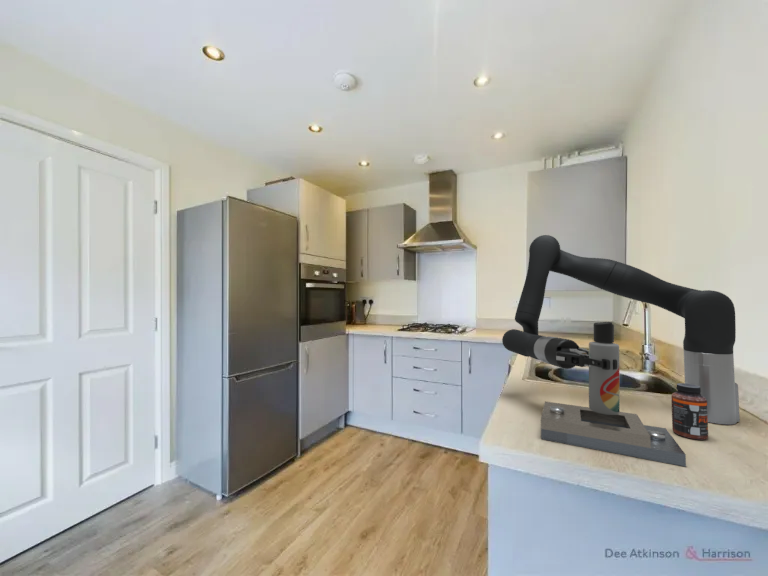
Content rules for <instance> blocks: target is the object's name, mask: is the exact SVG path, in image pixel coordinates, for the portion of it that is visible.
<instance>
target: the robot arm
mask: <svg viewBox="0 0 768 576" xmlns="http://www.w3.org/2000/svg"><path fill="white" fill-rule="evenodd" d="M528 253H529V254H528V256H529V257H528V264H527V271H526V276H525V279H524V280H525V281H524V285H523V287H522V291H521V294H520V298H519V301H518V304H517V306H516V307H517V308H516V312H515V316H514V321H515V322H516V323H517V324H518V325H520V326H521V327H522V330H519V329H516V328H515V329H513V328H512V329H509V330H507V331H506V332H504V333H503V336H502V339H501V341H502V345H503V347H504V348H505V349H506V350H508V351H510V352H512V353H515V354H518V355H520V356H524V357H527V358H532V359H534V360H538V361H542V362H543V363H545V364H547V365H551V366H555V367H559V368H562V369H565V370H569V369H572V368H573V369H574V368H575V367H580V368H584V367H588V368H589V367H590V365H593V366H597V367H600V368H602V369H604V370H610V360H608V359H602V361H601V360H594V359H590V356H589V349H587V348H583V347H580V346H579V344H577V342H576V341H574V340H572V339H567V338H563V337H562V338H561V337H558V336H557V337H556V336H549V335H548V336H546V335H541V334H539V321H540V316H541V313H542V308H543V304H544V299H545V293H546V287H547V283H548V282H547V281H548V278H549V274H550V272H552V273H557V274H559V275H564V276H567V277H570V278H572V279H575V280H577V281H579V282H583V283H585V284H587V285H589V286H593V287H595V288H598V289H600V290H603V291H605V292H608V293H610V294H614V295H616V296H620V297H623V298H625V299H626V298H627V299H630V300H633V301H638V302H641V303H647V304H651V305H654V306H656V307H658V308H661V309H662V310H663V309H664V310H666V311H668V312H670V313H673V314H675V315H676V316H679V317H681V318H683V319H684V337H683V341H682V347H683V365H684V366H683V368H684V371H683V372H684V383H685V384H693V385H697V386H700V389H701V393H700V394H701V395H702V396H703V397H705V398H706V400H707V413H708V423H711V424H712V423H713V424H719V425H736V424H737V422H741V421H740V420H741V419H740V401H739V399H740V398H739V397H740V396H739V384H738V383H737V382H735V379H736V378H735V377H736V376H735V363H734V362H735V361H734V360H735V359H734V346H735V343H736V333H737V332H736V331H737V330H736V309H735V305H734V303H733V300H732V299H731V298H730V297H729V296H727V294H725V293H723V292H720V291H716V290H710V289H709V290H706V289H705V290H699V289H696V288H690V287H687V286H682V285H679V284H675V283H671V282H670V281H666V280H663V279H661V278H659V277H657V276H655V275H653V274H651V273H649V272H647V271H645V270H642V269H640V268H638V267H635V266H633V265H630V264H627V263H624V262H620V261H617V260H614V259H609V258H603V257H601V258H599V257H586V256H579V255H575V254H573V253H570V252H567V251H564V250H563V249H561V244H560V242H559V241H558V240H557V238H556V237H554V236H552V235H549V234H545V235H544V234H543V235H542V234H541V235H539V236H537V237H536V238H534V239H533V241H532V242H530V245H529V249H528ZM592 361H594V364H593V363H592ZM596 363H597V364H596ZM616 369H617V360H613V370H616Z"/></svg>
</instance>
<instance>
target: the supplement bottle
mask: <svg viewBox="0 0 768 576" xmlns="http://www.w3.org/2000/svg"><path fill="white" fill-rule="evenodd" d="M676 390H677V391H675V392H672V394H671V396H670V397H671V420H672V421H671V422H672V423H671V425H672V431H673V433H675V434H676V435H678V436H681V437H683V438H687V439H690V440H691V439H692V440H698V441H699V440H700V441H703V440H707V439H708V438H709V422H708V413H707V400H706V398H705V397H703V396H702V395H701V394H700V393H701V389H700V386H697V385H693V384H685V382H683V383H682V382H681V383H680V382H679V383H676Z"/></svg>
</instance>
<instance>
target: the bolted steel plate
mask: <svg viewBox="0 0 768 576" xmlns="http://www.w3.org/2000/svg"><path fill="white" fill-rule="evenodd" d="M540 434H541V435H540V438H541V440H544V441H550V442H555V443H559V444H566V445H571V446H575V447H581V448H587V449H590V450H591V449H593V450H596V451H601V452H607V453H612V454H617V455H623V456H626V457H631V458H638V459H644V460H648V461H649V460H650V461H653V462H659V463H664V464H669V465H675V466H679V467H685V468H686V467H687V462H686V461H687V460H686V459H687V457H686V455H687V454H686V453H685V451H684V450H683V449H682V448H681V447H680V446H679V444H678V442H677V441H676V439H675V438H674V437H673V436H672V435H671V433H670V432H669V431H668V429H667V428H666V427H659V426H654V425H653V426H652V425H645V424H644V423H643V422H642V420H641V418H640V417H639V415H638V414H637V413H632V412H624V411H619V414H618V415H605V414H600V413H597V412H594V411H592V410H590V408H589V406H588V407H587V406H580V405H573V404H567V403H566V404H565V403H560V402H551V401H544V404H543V407H542V412H541V417H540Z"/></svg>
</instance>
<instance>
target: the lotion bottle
mask: <svg viewBox="0 0 768 576" xmlns="http://www.w3.org/2000/svg"><path fill="white" fill-rule="evenodd" d="M614 342H615V325H614V324H613V322H612V321H602V322H601V321H600V322H595V323H593V341H590V342H589V343H588V350H589V356H590V359H594V360H601V361H602V359H608V360H610V370H604V369H602V368H600V367H597V366H593V365H590V367H588V407H589V408H590V410H592V411H594V412H597V413H600V414H605V415H618V414H619V412H620V408H621V407H620V399H621V398H620V397H621V395H620V345H619V344H618V343H614ZM613 360H617V369H616V370H613ZM592 363H593V364H594V361H592ZM596 364H597V363H596Z"/></svg>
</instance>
